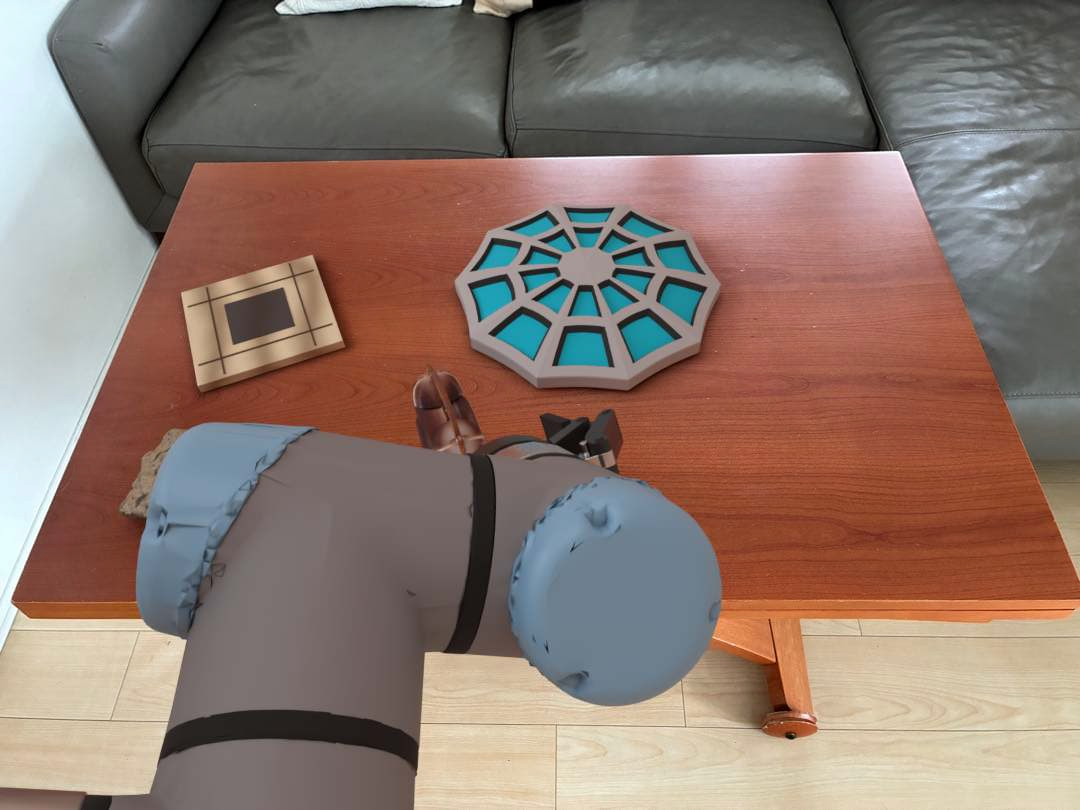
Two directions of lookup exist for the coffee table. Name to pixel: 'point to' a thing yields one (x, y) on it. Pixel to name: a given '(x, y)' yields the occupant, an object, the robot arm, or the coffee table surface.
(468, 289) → the decorative platform
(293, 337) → the game board
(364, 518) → the robot arm
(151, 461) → the rock
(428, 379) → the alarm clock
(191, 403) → the coffee table surface
